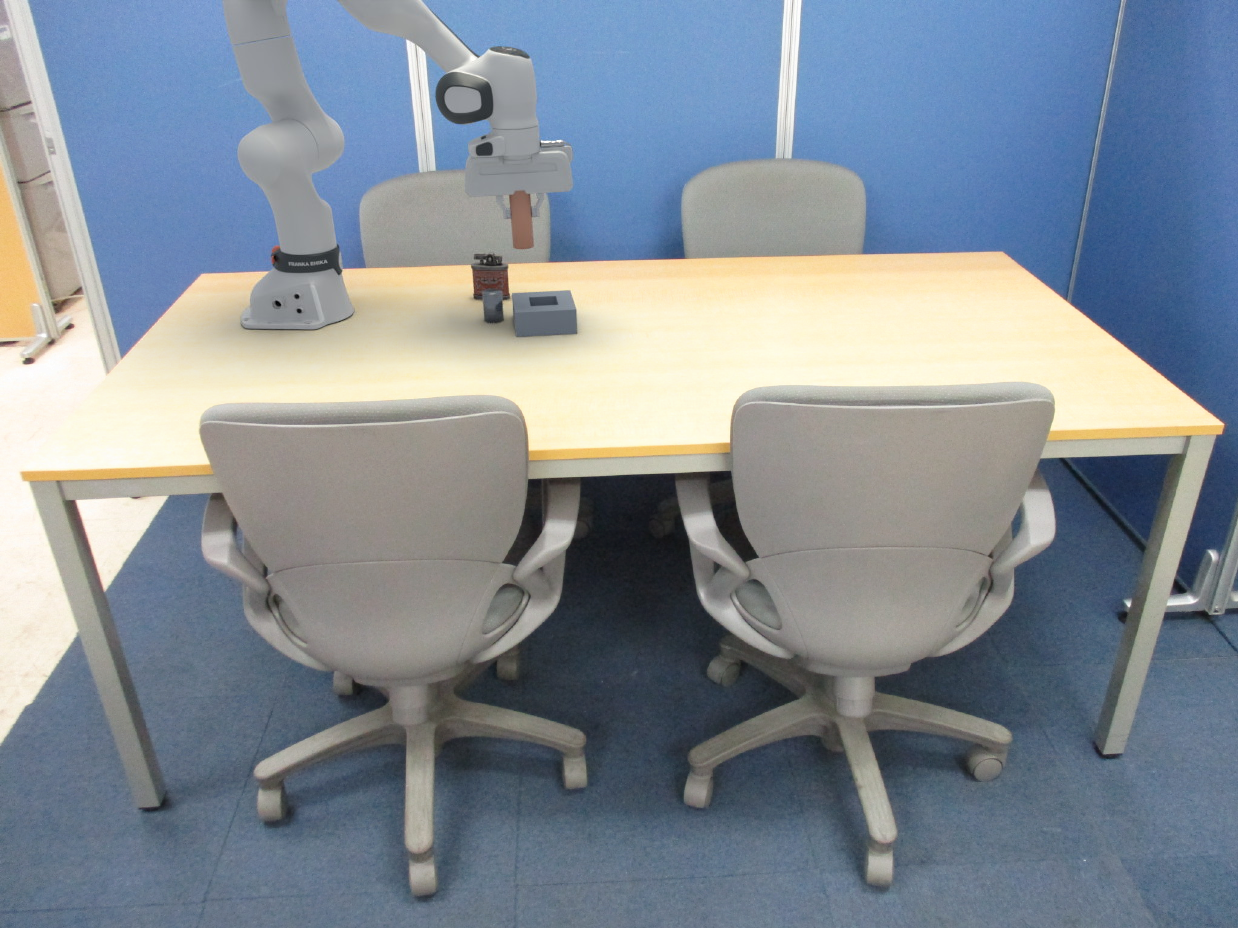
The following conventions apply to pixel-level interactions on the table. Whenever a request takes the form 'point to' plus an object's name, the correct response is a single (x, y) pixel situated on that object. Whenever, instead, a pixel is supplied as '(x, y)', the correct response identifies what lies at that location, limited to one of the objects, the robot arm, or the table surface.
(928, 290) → the table surface
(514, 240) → the long pin
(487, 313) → the short pin
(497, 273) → the lighter
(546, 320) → the bore block
